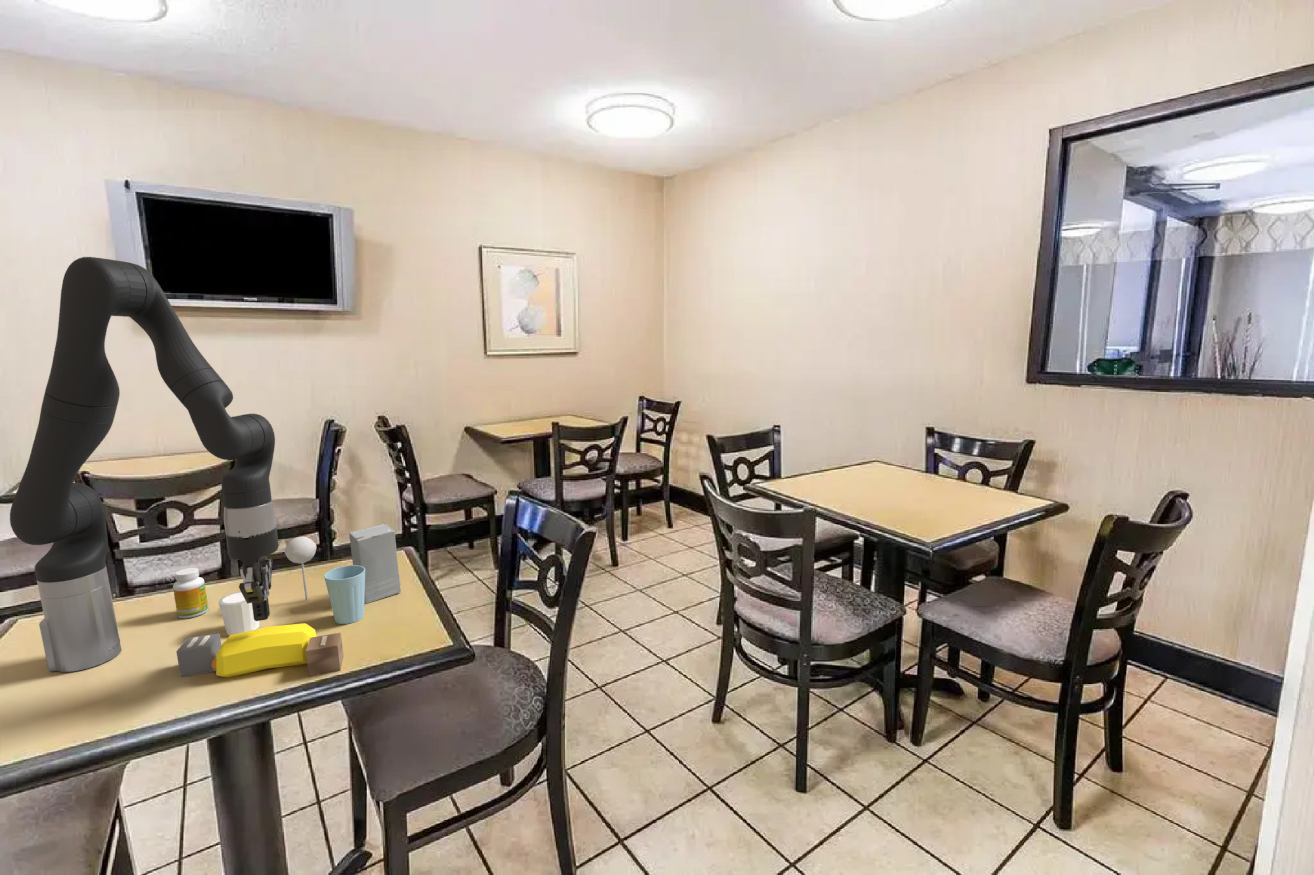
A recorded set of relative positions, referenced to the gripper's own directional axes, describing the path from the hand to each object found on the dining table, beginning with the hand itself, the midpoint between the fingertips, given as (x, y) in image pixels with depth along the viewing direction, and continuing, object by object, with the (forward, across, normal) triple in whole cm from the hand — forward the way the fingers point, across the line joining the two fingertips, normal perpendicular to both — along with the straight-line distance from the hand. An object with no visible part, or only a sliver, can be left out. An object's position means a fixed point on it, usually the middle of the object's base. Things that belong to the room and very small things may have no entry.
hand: (262, 618), depth 111 cm
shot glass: (+9, -17, -8) cm, 21 cm away
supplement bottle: (+10, -29, -20) cm, 36 cm away
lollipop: (+9, -27, +2) cm, 29 cm away
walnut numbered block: (+9, +5, +10) cm, 15 cm away
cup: (+9, -14, +12) cm, 21 cm away
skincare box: (+9, -24, +17) cm, 31 cm away
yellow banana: (+9, 0, 0) cm, 9 cm away
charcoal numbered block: (+9, -3, -11) cm, 15 cm away
